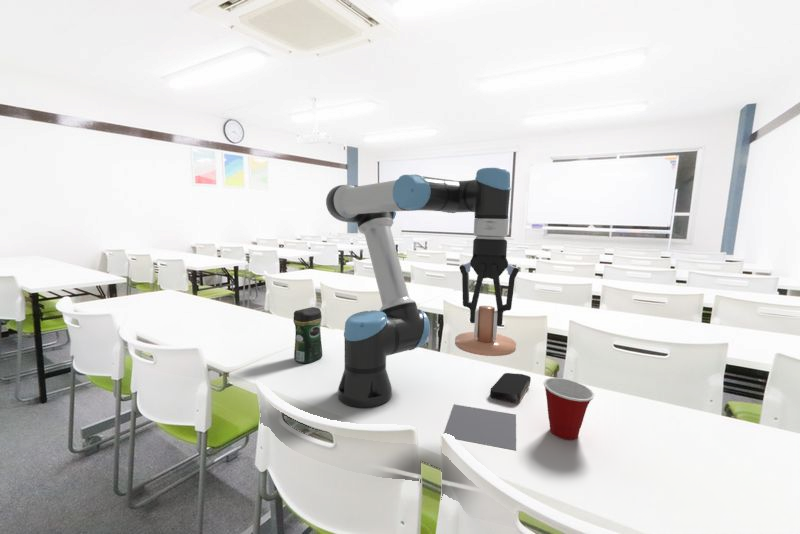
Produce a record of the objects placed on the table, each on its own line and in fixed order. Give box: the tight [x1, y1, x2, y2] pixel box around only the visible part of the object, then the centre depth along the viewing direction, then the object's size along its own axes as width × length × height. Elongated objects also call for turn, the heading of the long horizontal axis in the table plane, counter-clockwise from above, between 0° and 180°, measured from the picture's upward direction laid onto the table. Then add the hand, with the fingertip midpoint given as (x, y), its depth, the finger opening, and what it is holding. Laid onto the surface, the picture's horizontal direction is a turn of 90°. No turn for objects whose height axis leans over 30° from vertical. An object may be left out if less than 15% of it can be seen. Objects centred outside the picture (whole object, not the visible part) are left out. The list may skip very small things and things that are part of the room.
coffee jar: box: [292, 306, 323, 364], centre depth 130 cm, size 10×8×19 cm
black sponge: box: [489, 372, 531, 404], centre depth 108 cm, size 16×8×4 cm, turn 149°
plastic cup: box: [543, 377, 595, 441], centre depth 85 cm, size 11×11×12 cm
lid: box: [454, 305, 517, 357], centre depth 86 cm, size 14×14×9 cm
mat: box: [443, 404, 517, 452], centre depth 89 cm, size 16×16×1 cm
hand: (485, 337), depth 86 cm, fingers closed on lid, 3 cm apart
